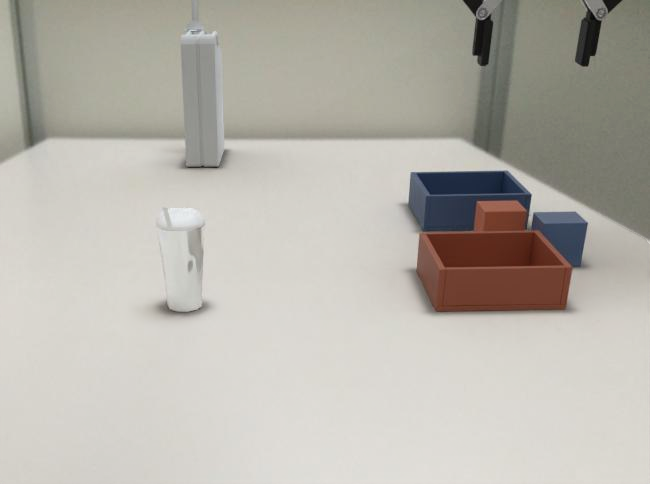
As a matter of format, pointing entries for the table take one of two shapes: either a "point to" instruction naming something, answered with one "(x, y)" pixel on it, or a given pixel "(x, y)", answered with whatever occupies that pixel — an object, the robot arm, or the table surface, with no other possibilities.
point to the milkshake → (182, 256)
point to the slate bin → (460, 196)
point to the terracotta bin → (492, 271)
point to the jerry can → (202, 94)
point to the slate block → (563, 233)
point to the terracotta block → (499, 216)
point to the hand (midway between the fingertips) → (531, 64)
